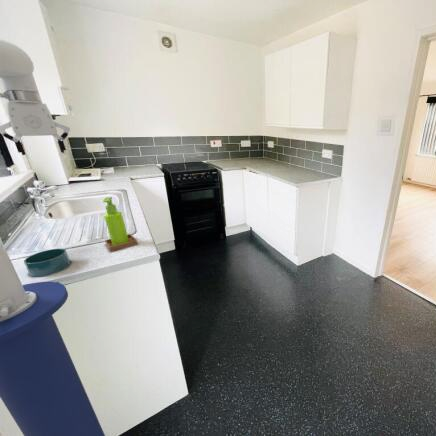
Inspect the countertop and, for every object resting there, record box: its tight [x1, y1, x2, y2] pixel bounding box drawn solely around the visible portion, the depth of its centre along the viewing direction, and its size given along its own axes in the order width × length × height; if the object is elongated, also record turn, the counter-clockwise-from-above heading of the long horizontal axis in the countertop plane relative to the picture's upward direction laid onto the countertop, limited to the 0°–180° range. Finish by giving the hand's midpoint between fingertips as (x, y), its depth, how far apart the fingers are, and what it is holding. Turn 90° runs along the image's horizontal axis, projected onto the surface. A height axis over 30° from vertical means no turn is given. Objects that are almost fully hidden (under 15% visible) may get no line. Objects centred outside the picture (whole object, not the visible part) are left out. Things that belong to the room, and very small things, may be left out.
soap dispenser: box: [102, 196, 129, 246], centre depth 100 cm, size 6×7×20 cm
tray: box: [104, 233, 138, 253], centre depth 103 cm, size 10×10×2 cm
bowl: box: [23, 248, 71, 278], centre depth 85 cm, size 11×11×5 cm
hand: (44, 153), depth 84 cm, fingers open, 9 cm apart
